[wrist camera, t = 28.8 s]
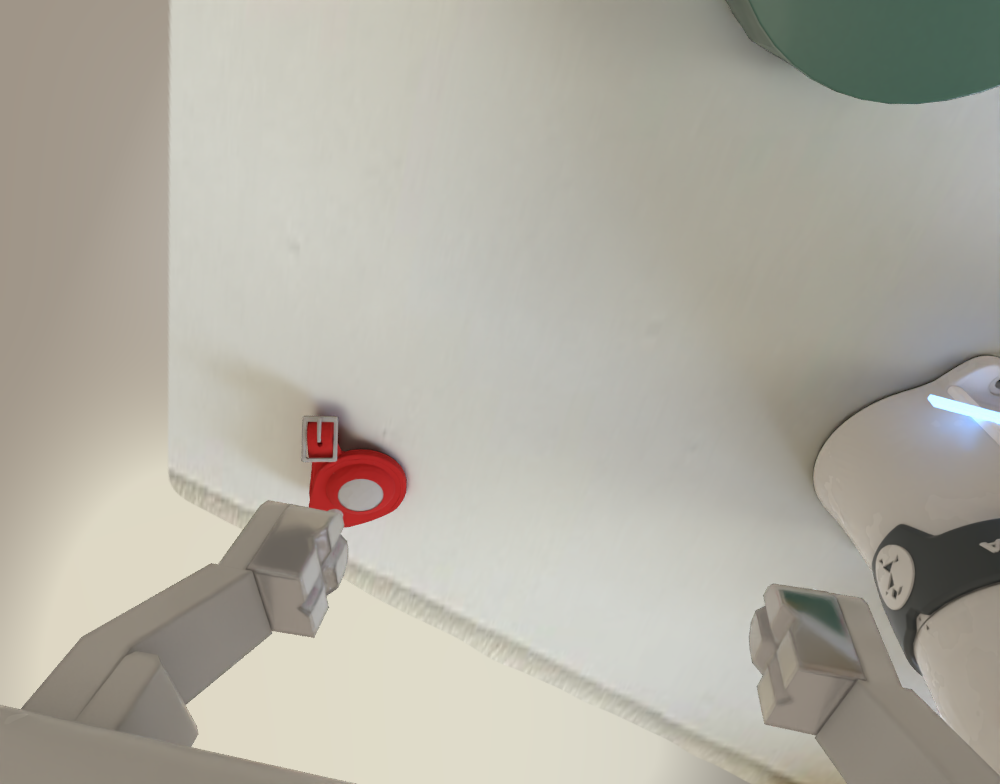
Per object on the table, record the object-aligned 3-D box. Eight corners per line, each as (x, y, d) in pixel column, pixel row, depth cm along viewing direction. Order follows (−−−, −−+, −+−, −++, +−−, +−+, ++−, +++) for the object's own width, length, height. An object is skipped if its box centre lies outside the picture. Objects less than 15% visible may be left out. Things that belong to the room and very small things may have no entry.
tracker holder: (429, 489, 51) (357, 552, 54) (426, 456, 54) (359, 517, 57) (312, 419, 44) (238, 495, 47) (317, 388, 48) (248, 460, 51)
